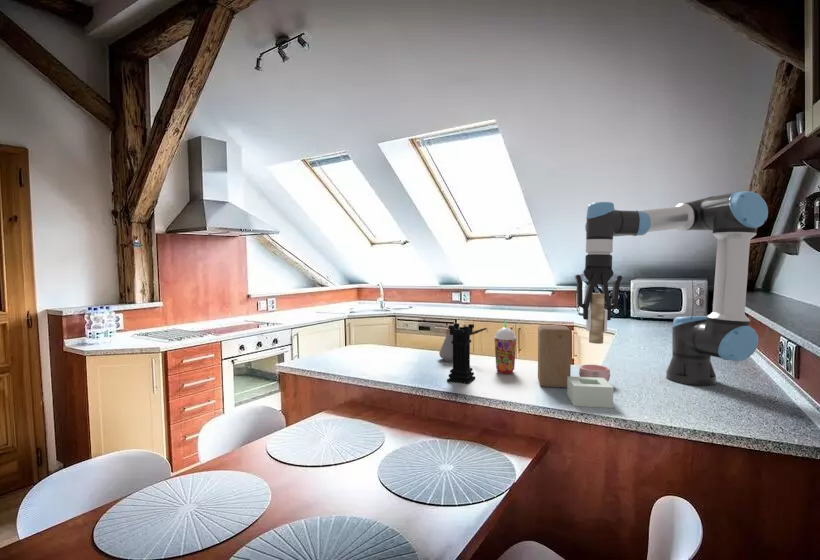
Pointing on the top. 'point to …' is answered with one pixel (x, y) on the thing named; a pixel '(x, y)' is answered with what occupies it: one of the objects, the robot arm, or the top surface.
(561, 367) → the wooden block
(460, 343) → the chess piece
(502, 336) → the smoothie
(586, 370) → the mug
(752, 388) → the top surface
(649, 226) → the robot arm
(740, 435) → the top surface
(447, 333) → the coffee pot
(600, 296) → the birch peg
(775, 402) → the top surface
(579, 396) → the socket block
